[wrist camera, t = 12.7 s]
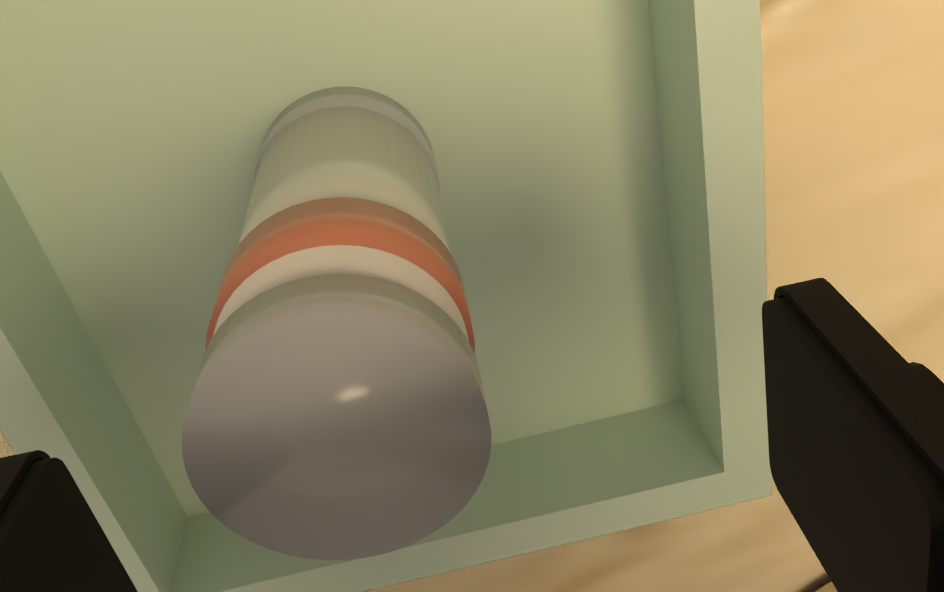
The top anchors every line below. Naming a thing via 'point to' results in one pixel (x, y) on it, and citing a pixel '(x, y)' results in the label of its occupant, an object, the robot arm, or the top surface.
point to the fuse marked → (339, 345)
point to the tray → (469, 234)
